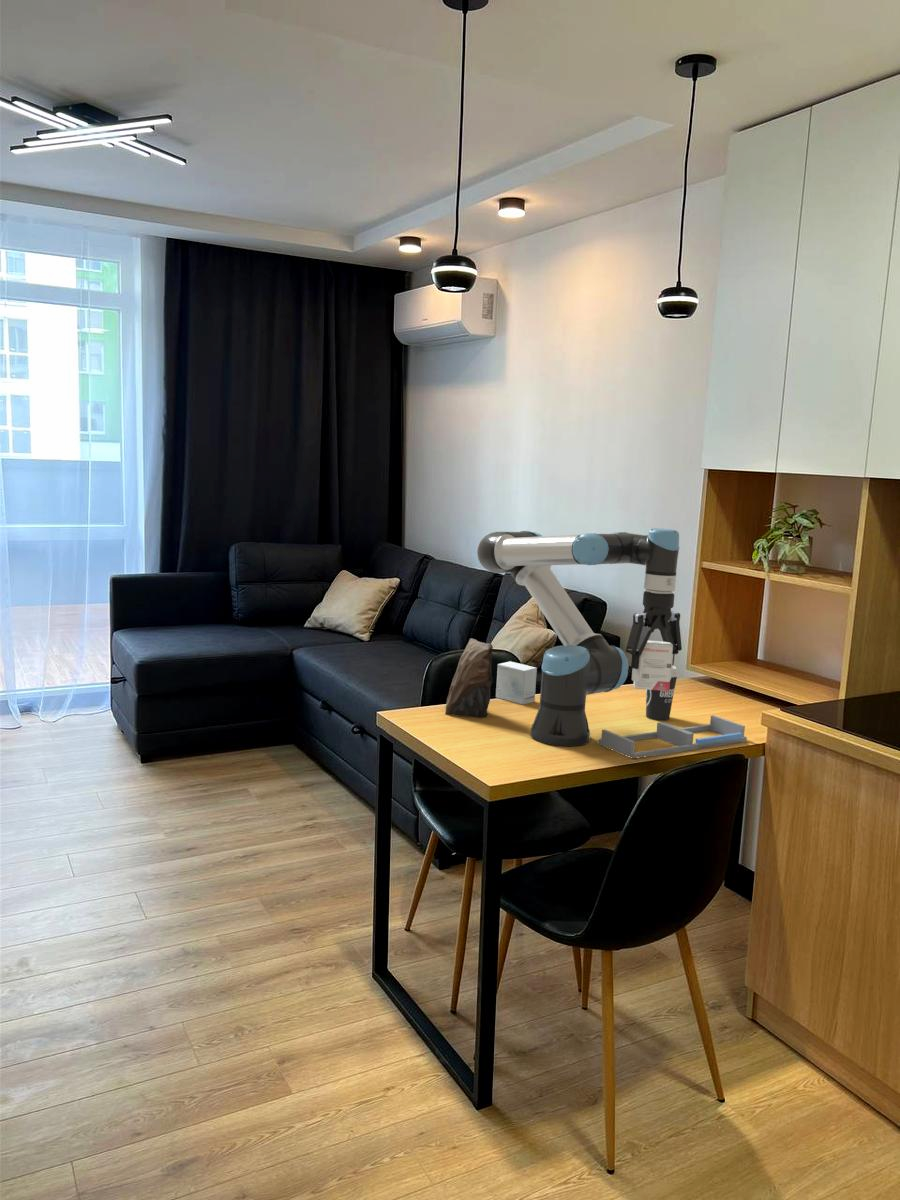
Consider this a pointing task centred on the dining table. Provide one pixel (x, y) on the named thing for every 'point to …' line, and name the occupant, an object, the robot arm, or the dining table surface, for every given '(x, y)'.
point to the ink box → (656, 666)
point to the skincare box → (516, 682)
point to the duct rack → (677, 738)
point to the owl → (471, 682)
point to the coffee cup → (661, 700)
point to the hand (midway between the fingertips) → (651, 679)
